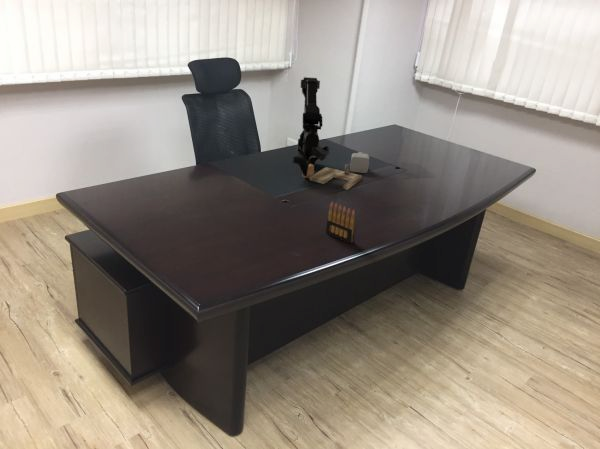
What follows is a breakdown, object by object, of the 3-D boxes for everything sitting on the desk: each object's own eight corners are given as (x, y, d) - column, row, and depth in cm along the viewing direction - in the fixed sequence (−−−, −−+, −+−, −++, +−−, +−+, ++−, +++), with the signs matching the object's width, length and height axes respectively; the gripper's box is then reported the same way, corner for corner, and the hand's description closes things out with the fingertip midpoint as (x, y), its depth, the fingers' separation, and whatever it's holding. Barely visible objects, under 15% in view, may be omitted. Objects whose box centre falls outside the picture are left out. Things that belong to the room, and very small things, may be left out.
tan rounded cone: (300, 176, 220) (300, 165, 218) (305, 173, 224) (306, 162, 222) (310, 179, 218) (310, 168, 216) (315, 175, 222) (316, 165, 220)
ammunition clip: (325, 233, 172) (328, 201, 167) (328, 231, 173) (331, 199, 168) (350, 243, 166) (354, 211, 160) (353, 242, 167) (357, 209, 162)
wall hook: (367, 164, 238) (369, 146, 232) (367, 176, 230) (369, 158, 224) (350, 163, 239) (352, 144, 233) (349, 175, 231) (351, 156, 225)
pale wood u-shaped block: (309, 180, 216) (310, 167, 214) (325, 170, 229) (326, 157, 227) (347, 189, 209) (348, 176, 206) (361, 178, 222) (363, 166, 219)
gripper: (317, 148, 203) (314, 184, 210) (336, 138, 218) (333, 172, 225) (293, 143, 207) (291, 178, 214) (313, 133, 222) (311, 167, 229)
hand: (307, 174), depth 220 cm, fingers closed on tan rounded cone, 5 cm apart
